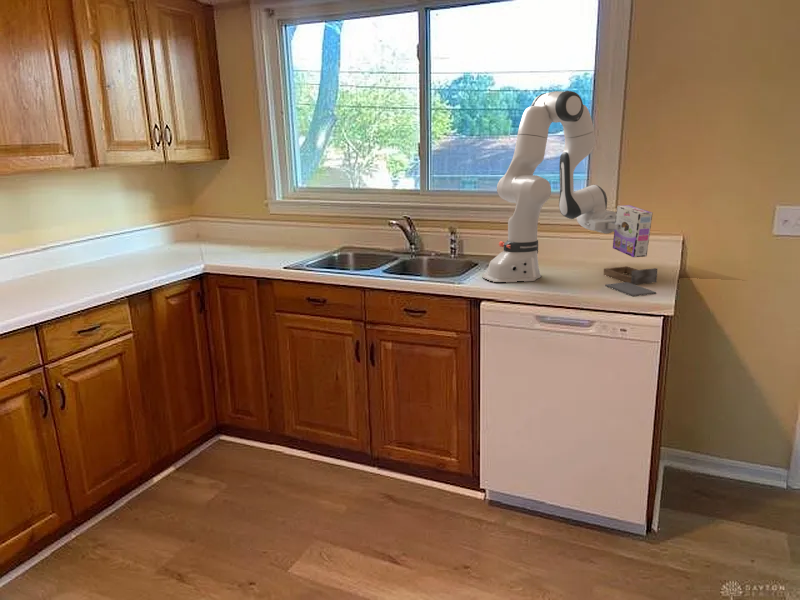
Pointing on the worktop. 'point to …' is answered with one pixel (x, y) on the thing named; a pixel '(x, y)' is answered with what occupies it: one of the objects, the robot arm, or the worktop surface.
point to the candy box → (632, 230)
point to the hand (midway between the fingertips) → (627, 226)
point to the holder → (632, 275)
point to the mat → (630, 289)
